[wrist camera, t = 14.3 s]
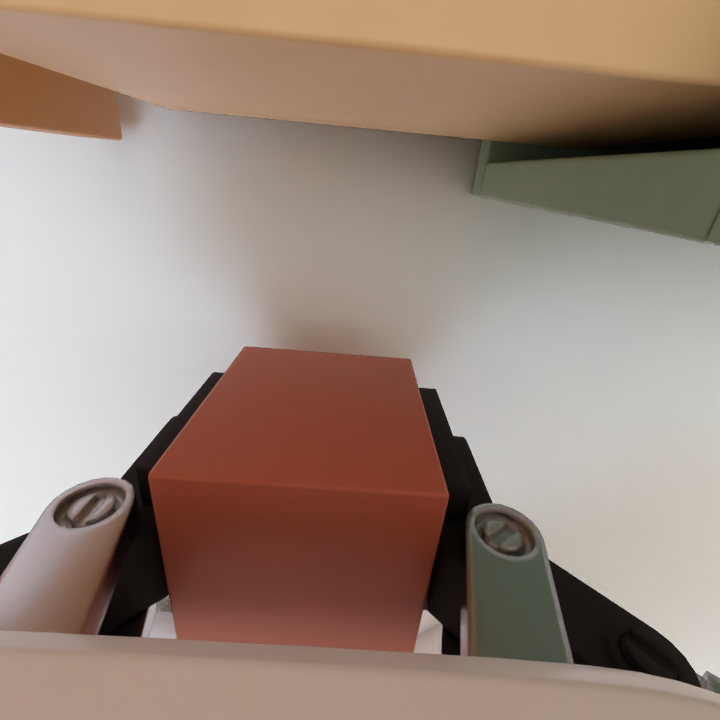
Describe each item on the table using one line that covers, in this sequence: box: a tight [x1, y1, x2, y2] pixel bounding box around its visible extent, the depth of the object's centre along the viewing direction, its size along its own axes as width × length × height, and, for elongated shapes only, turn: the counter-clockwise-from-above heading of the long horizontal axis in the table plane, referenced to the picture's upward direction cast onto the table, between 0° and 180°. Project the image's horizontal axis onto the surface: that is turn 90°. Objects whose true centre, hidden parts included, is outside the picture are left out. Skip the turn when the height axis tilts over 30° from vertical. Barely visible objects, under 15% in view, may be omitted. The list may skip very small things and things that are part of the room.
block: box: [148, 347, 449, 653], centre depth 9 cm, size 4×4×5 cm
